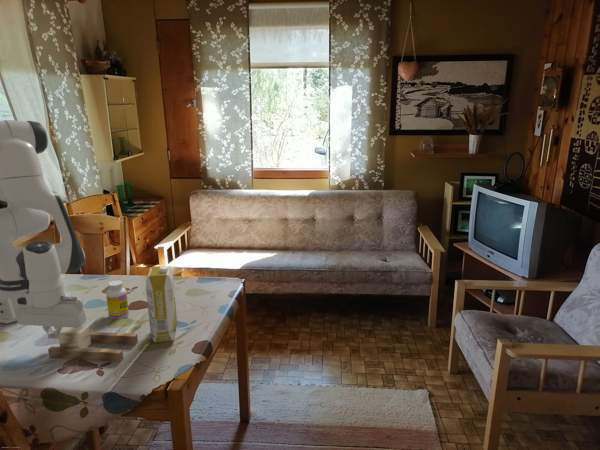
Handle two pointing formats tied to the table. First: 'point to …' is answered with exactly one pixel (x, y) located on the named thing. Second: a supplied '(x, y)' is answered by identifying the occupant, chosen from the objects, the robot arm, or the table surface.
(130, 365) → the table surface
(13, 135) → the robot arm
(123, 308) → the supplement bottle
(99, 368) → the table surface
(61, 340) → the block
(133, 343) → the chute
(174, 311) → the juice carton
